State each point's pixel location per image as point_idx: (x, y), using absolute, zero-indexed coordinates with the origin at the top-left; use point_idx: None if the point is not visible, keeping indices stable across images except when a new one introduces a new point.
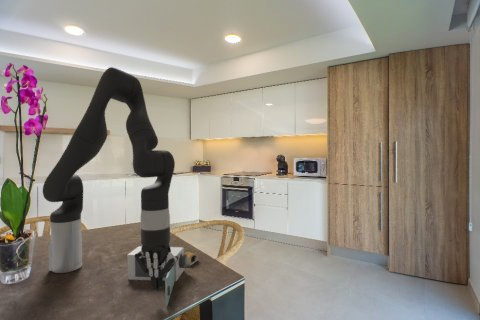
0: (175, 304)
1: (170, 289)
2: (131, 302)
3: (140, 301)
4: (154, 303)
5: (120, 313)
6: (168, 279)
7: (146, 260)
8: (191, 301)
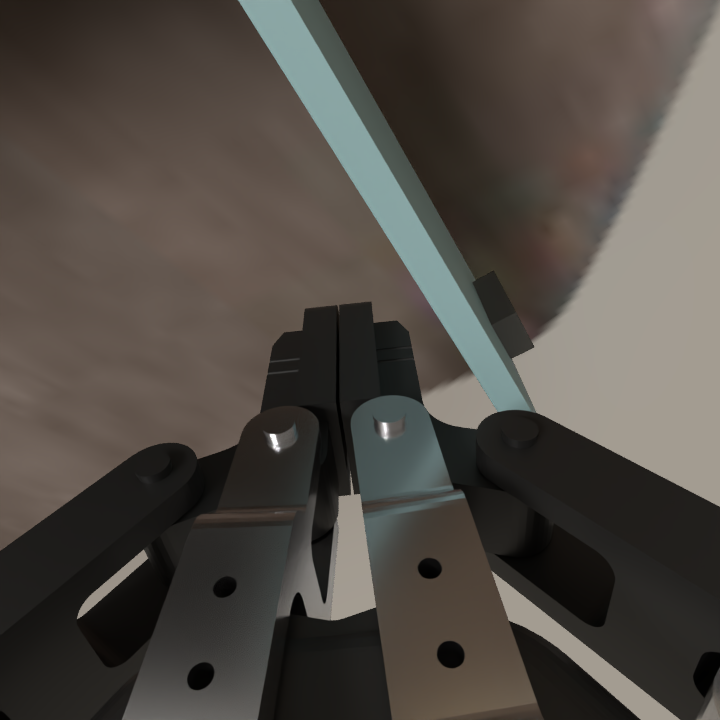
0: (512, 199)
1: (379, 114)
2: (121, 341)
3: (172, 299)
4: (314, 270)
5: None
6: (485, 324)
7: (46, 651)
8: (653, 71)
